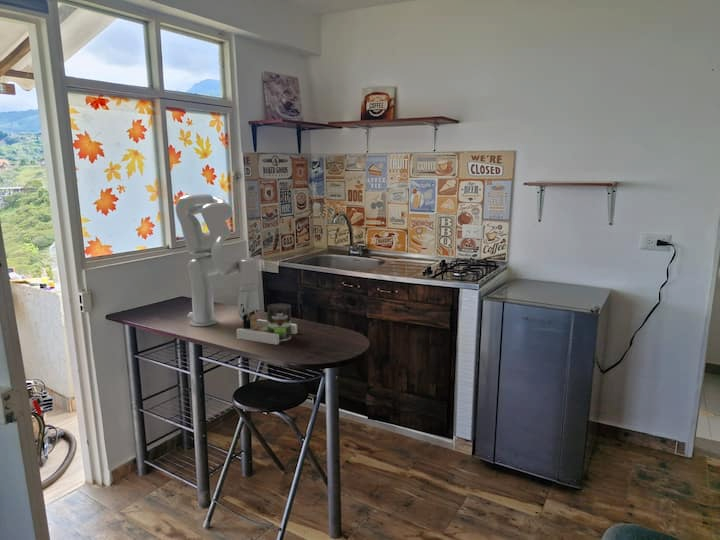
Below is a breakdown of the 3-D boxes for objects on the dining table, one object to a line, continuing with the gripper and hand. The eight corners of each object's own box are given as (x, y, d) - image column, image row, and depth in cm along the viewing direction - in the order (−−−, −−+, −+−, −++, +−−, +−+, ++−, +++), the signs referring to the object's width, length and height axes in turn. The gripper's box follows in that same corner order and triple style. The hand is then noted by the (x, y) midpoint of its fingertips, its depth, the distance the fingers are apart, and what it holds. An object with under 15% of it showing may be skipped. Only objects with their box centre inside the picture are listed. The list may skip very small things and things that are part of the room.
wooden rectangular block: (244, 333, 219) (243, 315, 218) (249, 331, 223) (248, 312, 221) (267, 337, 215) (266, 318, 213) (272, 334, 218) (271, 315, 217)
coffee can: (292, 340, 211) (292, 308, 208) (268, 342, 208) (267, 310, 206) (290, 333, 221) (289, 302, 218) (267, 334, 218) (266, 303, 216)
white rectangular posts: (236, 338, 213) (236, 329, 212) (259, 327, 229) (259, 319, 228) (276, 344, 206) (276, 335, 205) (297, 332, 221) (297, 324, 220)
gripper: (252, 282, 225) (253, 320, 229) (229, 289, 210) (231, 331, 214) (266, 283, 223) (267, 322, 226) (244, 291, 207) (245, 333, 211)
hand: (250, 326), depth 220 cm, fingers closed on wooden rectangular block, 4 cm apart
